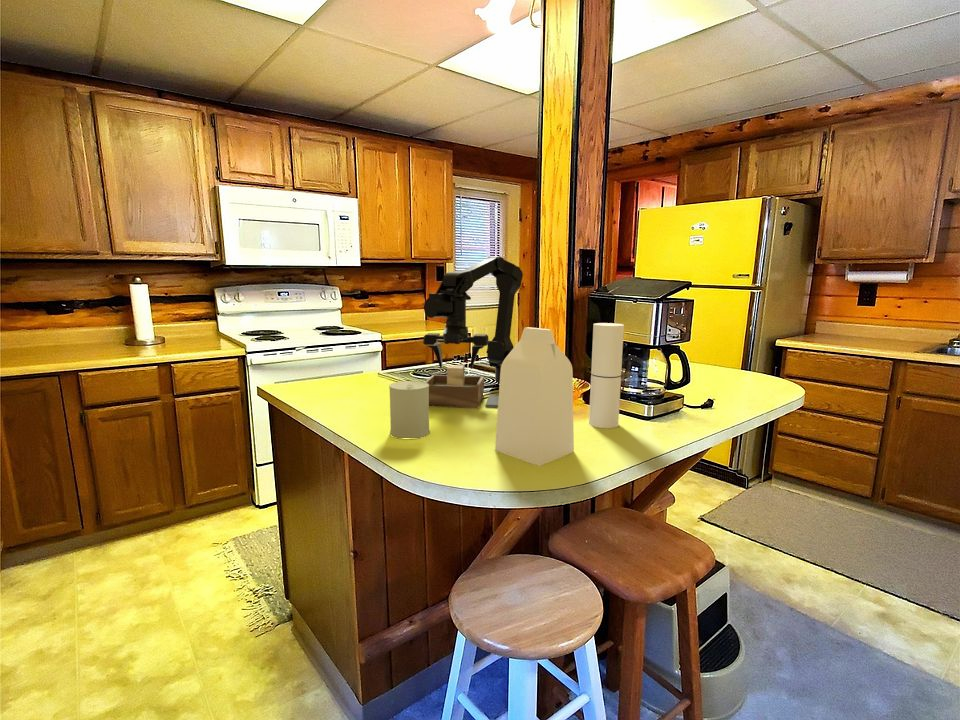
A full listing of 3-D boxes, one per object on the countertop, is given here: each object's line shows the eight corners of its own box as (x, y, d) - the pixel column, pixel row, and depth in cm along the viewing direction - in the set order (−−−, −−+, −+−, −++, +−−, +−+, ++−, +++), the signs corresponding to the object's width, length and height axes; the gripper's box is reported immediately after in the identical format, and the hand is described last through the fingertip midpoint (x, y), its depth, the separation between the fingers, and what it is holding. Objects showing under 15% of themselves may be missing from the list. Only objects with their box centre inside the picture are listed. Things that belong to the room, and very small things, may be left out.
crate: (432, 393, 155) (432, 374, 154) (483, 395, 153) (483, 376, 152) (421, 406, 140) (421, 385, 139) (477, 408, 138) (477, 387, 137)
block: (449, 384, 152) (449, 365, 151) (464, 384, 151) (464, 365, 150) (447, 387, 147) (446, 367, 146) (462, 388, 147) (462, 368, 146)
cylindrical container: (587, 426, 122) (592, 325, 118) (590, 418, 129) (594, 322, 125) (617, 429, 120) (623, 326, 116) (618, 421, 127) (624, 323, 123)
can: (392, 441, 111) (390, 388, 109) (388, 428, 119) (387, 379, 117) (433, 437, 113) (432, 386, 111) (426, 426, 122) (425, 378, 120)
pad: (489, 396, 151) (489, 394, 151) (516, 397, 150) (516, 395, 150) (485, 407, 139) (485, 404, 139) (514, 408, 138) (514, 405, 138)
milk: (494, 450, 105) (496, 328, 101) (529, 438, 113) (532, 324, 109) (539, 466, 97) (543, 333, 92) (573, 451, 105) (578, 329, 100)
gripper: (418, 317, 139) (419, 372, 142) (484, 318, 137) (484, 374, 139) (427, 314, 150) (427, 365, 152) (488, 315, 148) (488, 367, 150)
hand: (456, 368), depth 148 cm, fingers open, 9 cm apart
